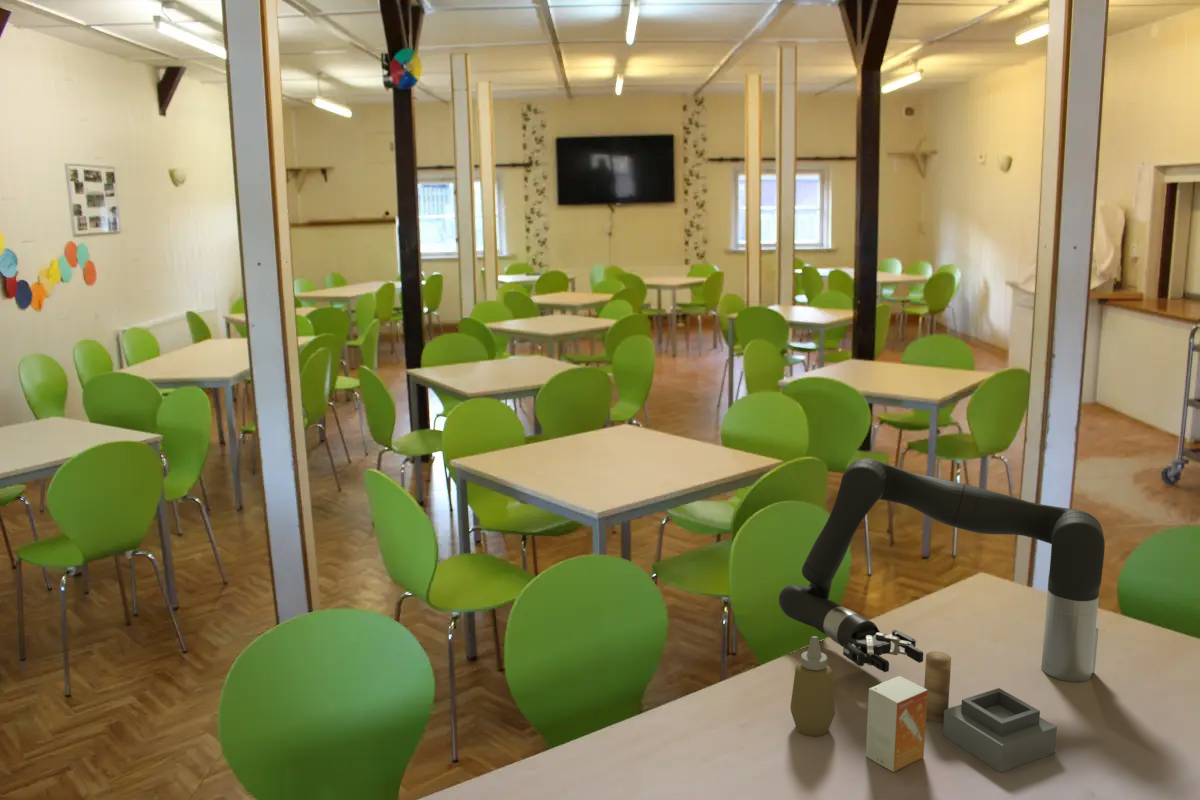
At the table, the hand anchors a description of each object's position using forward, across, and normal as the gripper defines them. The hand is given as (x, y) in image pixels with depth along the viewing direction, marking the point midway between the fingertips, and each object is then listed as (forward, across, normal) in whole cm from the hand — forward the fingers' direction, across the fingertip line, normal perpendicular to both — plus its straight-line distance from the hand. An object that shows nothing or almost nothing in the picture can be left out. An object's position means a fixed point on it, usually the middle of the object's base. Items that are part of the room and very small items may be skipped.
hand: (905, 662), depth 185 cm
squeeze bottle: (+2, -23, +7) cm, 24 cm away
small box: (+16, -16, +7) cm, 23 cm away
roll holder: (+20, +3, +7) cm, 22 cm away
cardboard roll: (+8, 0, +7) cm, 11 cm away
